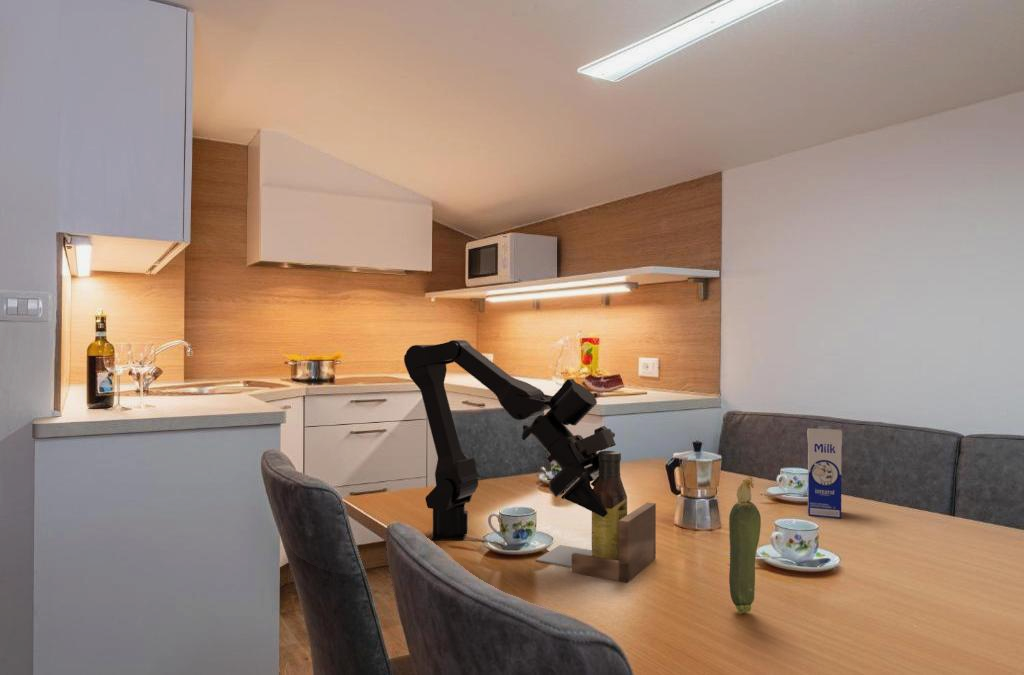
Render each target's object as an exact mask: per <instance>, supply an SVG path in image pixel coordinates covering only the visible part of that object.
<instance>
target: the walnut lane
mask: <svg viewBox="0 0 1024 675" xmlns="http://www.w3.org/2000/svg"><path fill="white" fill-rule="evenodd" d="M656 507H657V504H656V503H655V502H646V503H644V504H643V505H641V506H639V507H638V508H636V509H635V510H633V511H631V512H630V513H627V516H625V517H623V518H622V519H620V520H619V560H614V559H608V558H602V557H596V556H590V555H584V554H579V553H573V554H572V568H571V573H573V574H580V575H586V576H590V577H594V578H602V579H605V580H611V581H617V582H622V583H629V582H631V581H632V580H633V579H634V578H636V577H637V575H639V574H640V573H641V572H642V571H643V570H644V569H645V568H647V567H648V566H649V565H650V564H651V563H653V561H655V559H656V554H657V553H656V548H657V547H656V544H657V542H656V540H657V537H656V536H657V535H656V533H657V532H656V530H657V528H656V527H657V525H656V524H657V522H656V521H657V512H656V511H657V509H656Z"/></svg>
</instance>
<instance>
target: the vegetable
mask: <svg viewBox="0 0 1024 675" xmlns="http://www.w3.org/2000/svg"><path fill="white" fill-rule="evenodd" d="M753 482H755V480H754V479H753V477H752V476H749V477H746V478H744V479H742V482H741V483H740V485H739V486H738V487H737V490H736V497H737V502H736V503H735V504H734V505H732V508H731V509H730V511H729V512H730V513H729V517H728V518H729V519H728V520H729V521H728V523H729V524H728V526H729V527H728V529H729V533H728V534H729V550H730V551H729V572H728V574H729V577H728V584H729V594H730V598H731V601H732V603H733V604H734V606H735V609H736V610H737V612H738V615H739V614H740V615H742V614H743V613H748V612H751V609H752V605H753V603H754V600H755V590H756V589H755V587H756V586H755V585H756V584H755V583H756V557H757V556H756V555H757V549H758V545H759V543H760V536H761V535H760V534H761V527H762V525H761V524H762V522H761V521H762V520H761V513H760V511H759V509H758V507H757V505H755V503H753V502H752V489H754V488H755V487H754V483H753Z"/></svg>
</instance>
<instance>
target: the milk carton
mask: <svg viewBox="0 0 1024 675" xmlns="http://www.w3.org/2000/svg"><path fill="white" fill-rule="evenodd" d="M806 433H807V434H806V435H807V437H806V438H807V514H808V515H807V516H809V517H821V518H831V519H832V518H833V519H842V465H843V464H842V462H843V461H842V450H843V449H842V447H843V446H842V445H843V429H836V428H835V429H834V428H833V429H832V427H831V426H829V425H818V426H817V428H813V427H811V428H810V427H808V428H807V432H806Z"/></svg>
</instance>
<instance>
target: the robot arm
mask: <svg viewBox="0 0 1024 675" xmlns="http://www.w3.org/2000/svg"><path fill="white" fill-rule="evenodd" d="M403 363H404V366H405V368H406V371H407V373H408V376H409V377H410V379H411V381H412V382H413V383H414V384H415V386H417V387H418V389H419V390H420V393H421V398H422V400H423V405H424V409H425V413H426V418H427V421H428V426H429V429H430V432H431V437H432V439H433V440H432V441H433V444H434V447H435V452H436V455H437V461H436V467H435V471H434V477H435V478H434V480H435V487H434V488H433V489H432V490H430V492H428V494H427V495H426V496H425V503H426V507H427V509H432V534H431V540H436V541H437V540H438V541H439V540H443V541H444V540H445V541H447V540H456V541H457V540H458V541H459V540H461V541H462V540H465V537H466V535H467V534H468V532H469V512H468V510H466V504H467V503H470V502H471V500H472V496H473V495H474V494H475V492H476V490H477V489H478V486H479V480H478V478H480V475H479V472H478V470H477V467H476V461H475V460H476V459H475V458H474V457H470V458H467V457H466V455H465V454H464V453H463V452H462V449H461V445H460V441H459V437H458V433H457V429H456V426H455V422H454V419H453V414H452V411H451V407H450V403H449V400H448V395H447V391H446V388H445V380H446V374H447V365H450V364H452V363H456V365H458V366H459V367H460V368H462V369H463V370H464V371H465V372H467V373H468V374H469V375H471V377H473V378H474V379H475V380H476V381H478V382H479V383H480V384H481V385H484V386H485V387H486V389H488V390H489V391H491V392H492V393H493V394H494V395H495V397H497V400H498V402H499V404H500V406H501V407H502V408H503V410H505V411H506V413H508V415H509V416H510V417H511V418H512V419H515V420H518V421H522V420H528V419H532V418H535V419H534V420H533V421H532V422H531V423H530V424H529V423H528V424H524V425H522V435H521V438H522V441H527V440H529V439H534V438H535V439H536V440H537V441H538V442H539V445H541V446H542V448H543V449H544V451H546V452H547V454H548V455H549V456H548V457H547V458H546V459H547V460H548V462H549V463H553V462H555V463H556V465H557V466H558V467H559V468H560V470H559V471H558V472H557V474H555V475H554V476H553V478H552V479H551V480H549V481H548V482H549V483H548V487H549V488H548V489H549V491H550V492H551V494H552V495H554V497H555V498H558V497H560V496H561V497H560V498H561V500H567V501H569V502H571V503H573V504H575V505H577V506H579V507H581V508H584V509H586V510H588V511H590V512H591V513H592V512H594V513H596V514H598V515H600V516H602V517H605V516H606V515H607V514H608V512H607V510H606V509H605V507H604V505H603V504H602V502H601V501H600V499H599V498H598V496H597V495H596V493H595V492H594V491H593V487H594V485H595V483H596V482H597V480H598V479H599V474H598V473H599V461H598V452H600V451H605V450H606V449H609V448H612V447H614V446H617V445H616V442H615V440H614V438H615V436H616V433H615V432H614V431H612V430H611V428H608V427H606V426H605V425H603V426H600V427H598V428H595V429H594V432H593V433H592V434H591V435H589V436H586V437H582V436H583V435H580V434H575V435H574V434H573V433H572V432H571V430H570V429H569V428H568V427H567V426H569V425H571V426H576V425H577V424H578V423H580V422H581V420H582V419H584V418H585V417H586V415H588V413H590V411H592V409H593V408H595V406H596V405H597V403H598V401H597V399H596V397H595V395H594V394H593V393H592V391H591V390H590V389H587V388H586V387H585V386H584V385H581V384H580V383H578V382H576V381H575V380H574V378H568V379H566V380H565V381H564V382H563V383H562V385H561V387H560V388H559V389H558V391H556V392H555V393H554V395H549V394H545V393H544V391H542V390H541V389H540V388H538V387H537V386H534V385H532V384H531V383H529V382H527V381H523V380H520V379H517V378H515V377H513V376H511V375H510V374H508V373H507V372H506V371H505V370H503V369H502V368H501V367H499V366H498V365H496V363H494V362H493V361H492V360H491V359H490V358H489V359H488V358H487V356H485V355H483V354H482V352H479V351H478V350H477V349H476V348H475V347H473V346H472V345H471V344H470V342H468V341H467V340H462V339H456V340H454V339H453V340H452V339H451V340H449V341H447V342H444V343H443V342H442V343H439V344H415V345H411V346H410V347H409V348H407V349H406V352H405V354H404V356H403ZM547 410H548V411H547ZM545 411H547V412H546V413H545V414H544V415H542V414H543V413H544V412H545Z"/></svg>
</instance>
